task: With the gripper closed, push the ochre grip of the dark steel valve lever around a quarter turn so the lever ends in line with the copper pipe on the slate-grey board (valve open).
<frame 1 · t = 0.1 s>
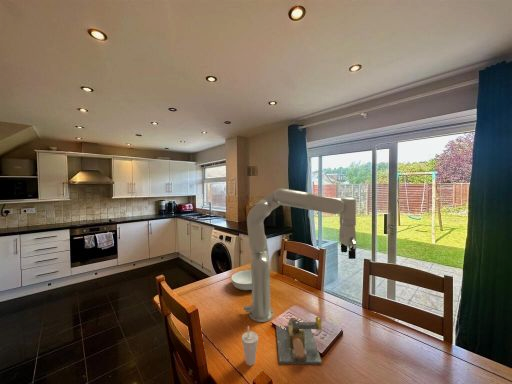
hand: (347, 255, 107), 31 cm above the table, fingers open, 9 cm apart
valve body: (296, 343, 89), on the table
smoothie: (250, 361, 80), on the table
serving bowl: (247, 286, 141), on the table
lever: (306, 324, 88), point 9 cm above the table, hinge at 0.0°
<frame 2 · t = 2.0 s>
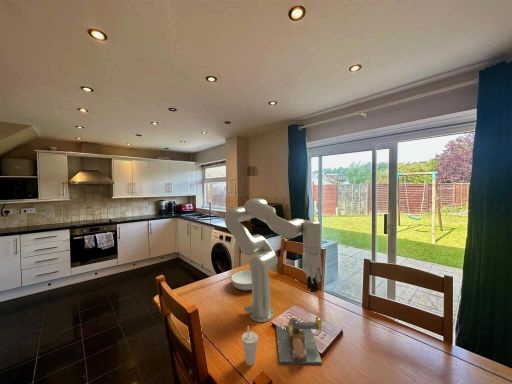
hand: (312, 289, 92), 21 cm above the table, fingers closed
nothing on the table moved.
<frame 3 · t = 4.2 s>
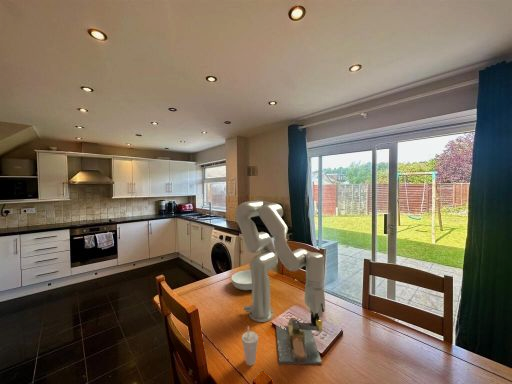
hand: (315, 323, 91), 7 cm above the table, fingers closed
lever: (307, 324, 88), point 9 cm above the table, hinge at 6.2°, touching gripper
everything else where it was.
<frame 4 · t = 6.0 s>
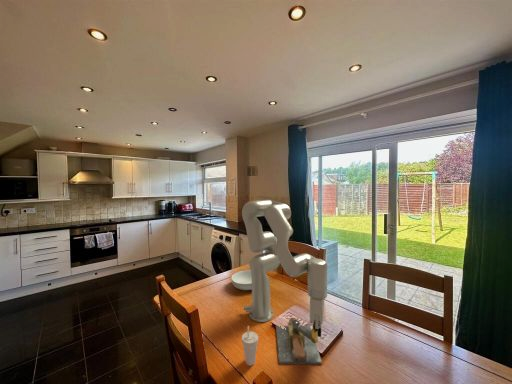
hand: (316, 334, 84), 7 cm above the table, fingers closed
lever: (304, 329, 85), point 9 cm above the table, hinge at 50.7°, touching gripper
everything else where it was.
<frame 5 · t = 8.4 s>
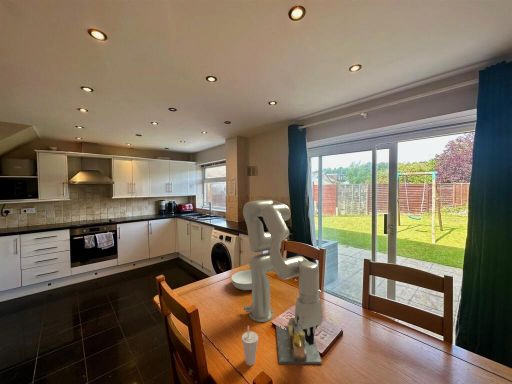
hand: (309, 342, 80), 7 cm above the table, fingers closed
lever: (296, 331, 84), point 9 cm above the table, hinge at 95.8°
everything else where it was.
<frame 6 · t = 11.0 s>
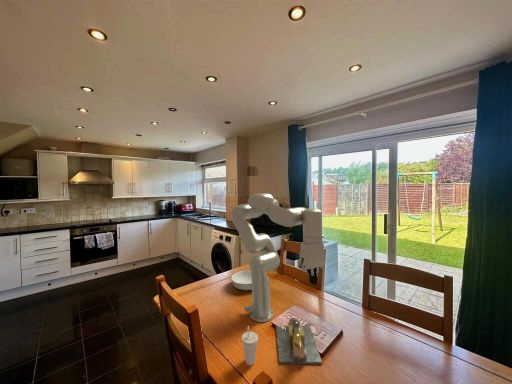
hand: (313, 283, 86), 27 cm above the table, fingers closed
nothing on the table moved.
at the end: lever at +96° (first picture: +0°); lever touching nothing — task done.
